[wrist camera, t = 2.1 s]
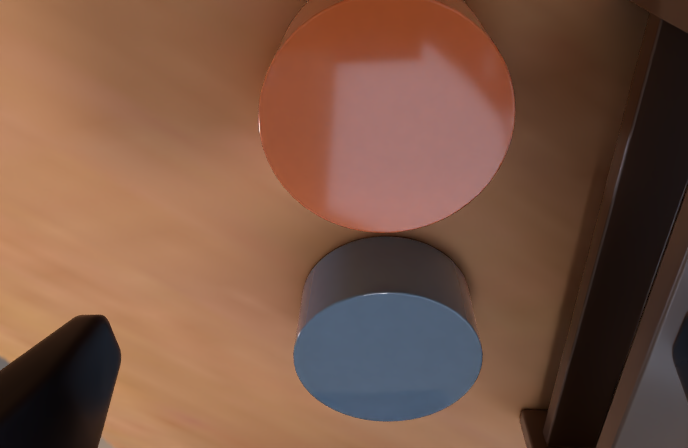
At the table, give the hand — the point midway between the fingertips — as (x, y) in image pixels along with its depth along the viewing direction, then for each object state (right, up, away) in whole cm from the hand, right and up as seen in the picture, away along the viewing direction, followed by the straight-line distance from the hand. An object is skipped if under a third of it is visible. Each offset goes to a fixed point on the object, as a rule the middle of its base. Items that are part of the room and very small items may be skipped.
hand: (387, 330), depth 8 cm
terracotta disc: (0, +6, +8) cm, 9 cm away
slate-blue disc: (+1, -1, +12) cm, 12 cm away
